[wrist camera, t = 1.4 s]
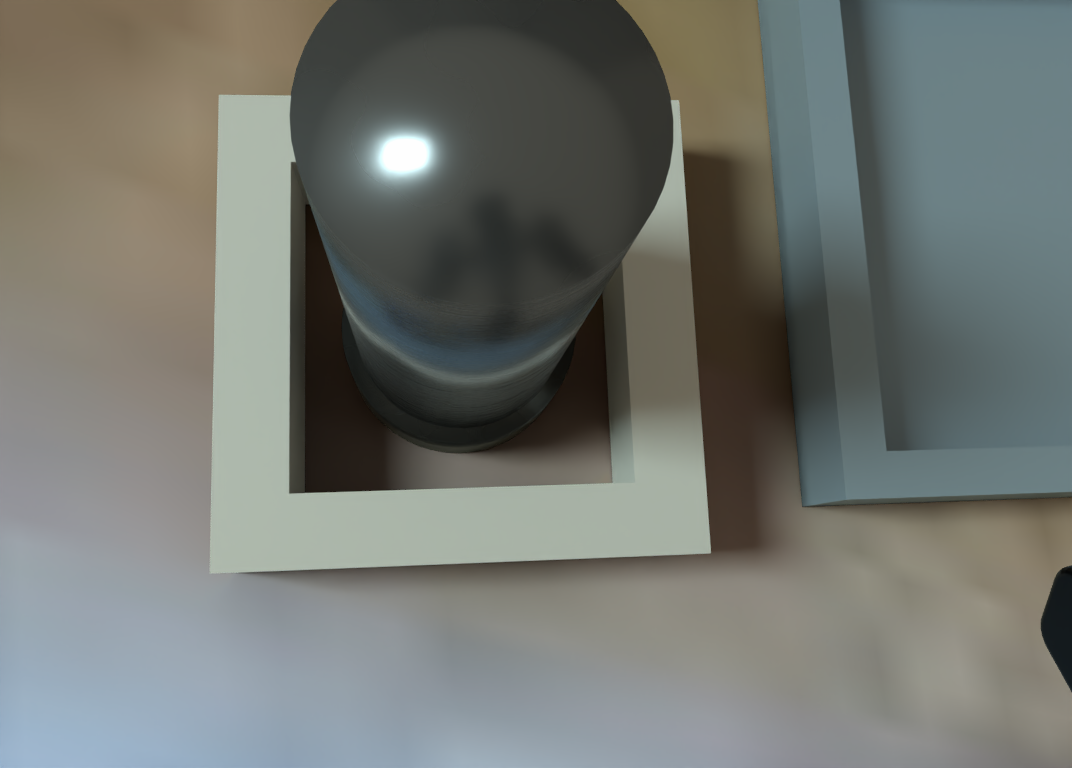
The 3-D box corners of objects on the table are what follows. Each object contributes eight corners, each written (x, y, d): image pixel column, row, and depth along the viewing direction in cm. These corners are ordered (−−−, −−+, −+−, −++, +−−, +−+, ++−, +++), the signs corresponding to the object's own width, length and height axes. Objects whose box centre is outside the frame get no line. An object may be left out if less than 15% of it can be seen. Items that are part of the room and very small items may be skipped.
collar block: (680, 554, 23) (711, 553, 20) (234, 572, 22) (209, 573, 19) (653, 146, 24) (678, 100, 22) (241, 144, 23) (219, 95, 21)
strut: (568, 449, 23) (713, 326, 11) (349, 455, 22) (259, 332, 11) (558, 244, 24) (684, -72, 12) (348, 244, 23) (263, -86, 11)
